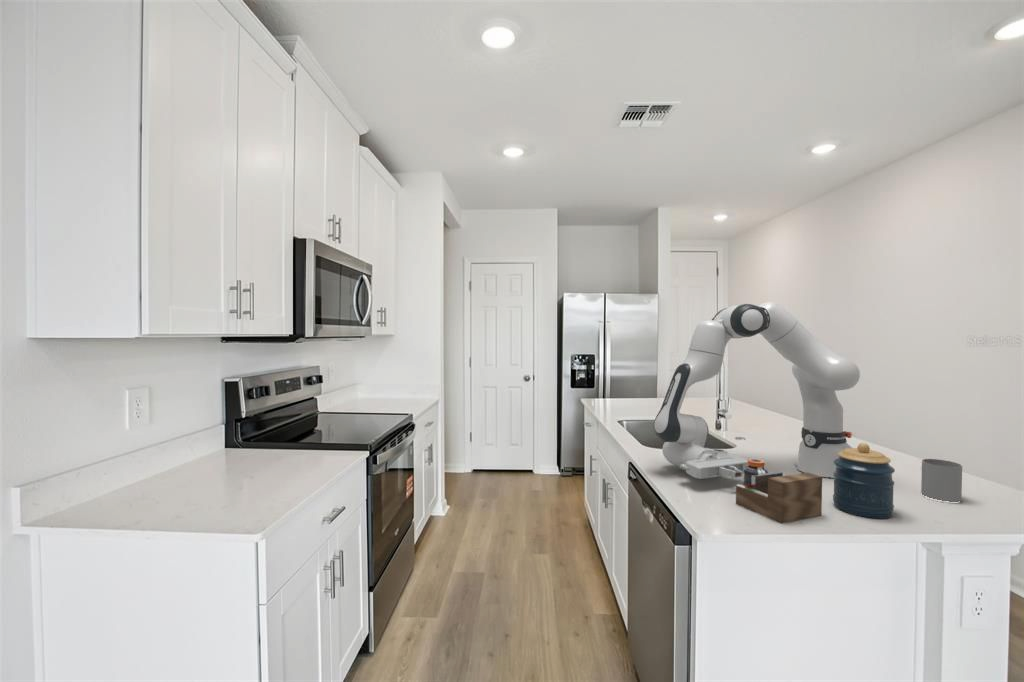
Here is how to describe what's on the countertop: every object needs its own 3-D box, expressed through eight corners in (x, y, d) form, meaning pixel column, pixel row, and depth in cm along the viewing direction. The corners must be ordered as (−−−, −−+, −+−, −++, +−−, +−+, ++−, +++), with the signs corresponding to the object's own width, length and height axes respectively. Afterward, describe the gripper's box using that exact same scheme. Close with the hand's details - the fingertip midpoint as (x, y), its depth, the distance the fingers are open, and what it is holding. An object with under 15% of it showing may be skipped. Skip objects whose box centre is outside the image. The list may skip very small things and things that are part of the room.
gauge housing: (773, 497, 134) (774, 462, 134) (821, 515, 121) (822, 476, 121) (735, 503, 129) (736, 467, 129) (781, 523, 116) (782, 482, 116)
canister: (897, 523, 116) (899, 452, 116) (833, 512, 123) (835, 445, 123) (889, 506, 127) (891, 441, 127) (831, 497, 134) (832, 435, 134)
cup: (951, 494, 137) (952, 460, 136) (968, 504, 129) (969, 468, 129) (915, 491, 139) (916, 457, 139) (929, 501, 132) (930, 465, 131)
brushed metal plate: (778, 500, 131) (778, 471, 130) (782, 501, 130) (782, 472, 129) (744, 506, 126) (744, 476, 126) (747, 507, 125) (748, 477, 125)
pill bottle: (770, 505, 128) (771, 464, 128) (746, 503, 129) (747, 462, 129) (763, 497, 134) (764, 458, 134) (741, 496, 135) (741, 456, 135)
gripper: (676, 455, 146) (710, 467, 133) (727, 449, 154) (764, 460, 141) (676, 475, 146) (709, 489, 134) (727, 468, 154) (763, 481, 141)
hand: (738, 474), depth 137 cm, fingers closed
